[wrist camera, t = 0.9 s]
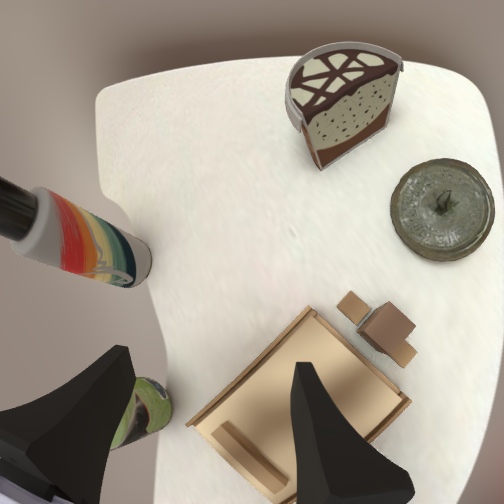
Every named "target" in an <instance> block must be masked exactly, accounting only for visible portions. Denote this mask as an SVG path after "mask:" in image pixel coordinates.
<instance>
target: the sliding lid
mask: <svg viewBox="0 0 504 504" xmlns="http://www.w3.org/2000/svg"><path fill="white" fill-rule="evenodd" d="M296 362H311V363H312V364H313V366H314V368H315V370H316V372H317V374H318V376H319V378H320V380H321V382H322V384H323V385H324V387H325V389H326V390H327V392H328V394H329V395H330V397H331V398H332V400H333V402H334V403H335V404H336V406H337V407H338V409H339V410H340V411H341V413H342V414H343V416H344V417H345V418H346V419H347V421H348V422H349V423H350V424H351V425H352V426H353V428H354V429H355V430H356V431H357V432H358V433H359V434H360V435H361V436H362V437H363V438H364V437H365V436H366V435H367V434H368V433H369V432H371V431H372V430H373V429H374V428H375V427H376V426H377V425H378V424H379V423H380V422H381V421H382V420H383V419H384V418H385V417H386V416H387V415H388V414H389V413H390V412H391V411H392V410H393V409H394V408H395V407H396V406H397V405H398V404H399V403H400V402H401V401H402V399H401V398H400V397H399V396H398V395H397V394H396V393H395V392H394V391H393V390H391V389H390V388H389V387H388V386H387V385H386V384H385V383H384V382H383V381H382V380H381V379H380V378H378V377H377V376H376V375H375V374H374V373H373V372H372V371H371V370H370V369H369V368H368V367H367V366H365V365H364V364H363V363H362V362H361V361H360V360H359V359H358V358H357V357H356V356H355V355H354V354H353V353H351V352H350V351H349V350H348V349H347V348H346V347H345V346H344V345H343V344H342V343H341V342H340V341H339V340H337V339H336V338H335V337H334V336H333V335H332V334H331V333H330V332H329V331H328V330H327V329H326V328H325V327H324V326H322V325H321V324H320V323H319V322H318V321H317V320H316V319H315V318H314V317H313V316H311V317H310V318H309V319H308V320H307V321H306V322H305V323H304V324H303V325H302V326H301V327H300V328H299V329H298V330H297V331H296V332H295V334H294V335H293V336H292V337H291V338H290V339H289V340H288V341H287V342H286V343H285V344H284V345H283V346H282V347H281V348H280V349H279V350H278V351H277V352H276V353H275V354H274V355H273V356H272V357H271V358H270V359H269V360H268V361H267V362H266V363H265V364H264V365H263V366H262V367H261V368H260V369H258V370H257V371H256V372H255V373H254V374H253V375H252V376H251V377H250V378H249V379H248V380H247V381H246V382H245V383H244V384H243V385H242V386H241V387H240V388H238V389H237V390H236V391H235V392H234V393H233V394H232V395H231V396H230V397H229V398H228V399H226V400H225V401H224V402H223V403H222V404H221V405H220V406H219V407H218V408H216V409H215V410H214V411H213V412H212V413H211V414H210V415H209V416H207V417H206V418H205V419H204V420H203V421H202V422H201V423H199V424H198V425H197V426H196V427H195V429H196V430H197V431H198V433H199V434H200V435H201V436H202V437H203V438H204V439H205V440H206V441H207V442H208V443H209V444H210V445H211V446H212V447H213V448H214V449H215V450H216V451H217V452H218V453H219V454H220V455H221V456H222V457H223V458H224V459H225V460H226V461H227V462H228V463H229V464H230V465H231V466H232V467H233V468H234V469H235V470H236V471H237V472H238V473H239V474H240V475H241V476H242V477H244V478H245V479H246V480H247V481H248V482H249V483H250V484H251V485H252V486H254V487H255V488H256V489H257V490H258V491H259V492H260V493H262V494H263V495H264V496H265V497H266V498H267V499H269V500H270V501H271V502H272V503H273V504H278V503H280V502H281V501H283V500H284V499H286V498H287V497H289V496H290V495H292V494H293V493H295V492H296V491H297V464H296V453H295V446H294V438H293V430H292V422H291V414H290V393H291V387H292V382H293V376H294V370H295V365H296Z"/></svg>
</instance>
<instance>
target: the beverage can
mask: <svg viewBox="0 0 504 504" xmlns="http://www.w3.org/2000/svg"><path fill="white" fill-rule="evenodd" d="M171 410H172V407H171V401H170V398H169V396H168V394H167V392H166V391H165V389H164V388H163V387H162V386H161V385H160V384H159V383H157V382H156V381H154V380H152V379H150V378H145V377H136V382H135V386H134V390H133V393H132V396H131V399H130V401H129V404H128V406H127V408H126V411H125V413H124V415H123V417H122V420H121V422H120V424H119V426H118V429H117V431H116V433H115V436H114V438H113V441H112V444H111V447H110V451H112V450H115V449H117V448H120V447H122V446H125V445H127V444H130V443H132V442H134V441H137V440H139V439H141V438H144V437H146V436H148V435H151V434H153V433H155V432H157V431H159V430H161V429H163V428H164V427H165V426H166V425H167V423H168V422H169V419H170V417H171Z"/></svg>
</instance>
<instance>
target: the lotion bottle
mask: <svg viewBox="0 0 504 504" xmlns="http://www.w3.org/2000/svg"><path fill="white" fill-rule="evenodd" d="M0 235H1V236H3V237H6V238H8V239H10V242H11V246H12V248H13V250H14V251H15V253H17V254H18V255H21V256H23V257H25V258H28V259H31V260H34V261H37V262H40V263H43V264H46V265H49V266H52V267H55V268H59V269H62V270H65V271H68V272H71V273H74V274H78V275H81V276H84V277H88V278H91V279H94V280H98V281H102V282H105V283H108V284H112V285H116V286H119V287H124V288H132V287H135V286H137V285H139V284H140V283H141V282H142V281H143V280H144V279H145V278H146V276H147V275H148V272H149V270H150V266H151V254H150V251H149V249H148V247H147V246H146V244H145V243H144V242H142V241H141V240H139V239H138V238H136V237H134V236H132V235H130V234H128V233H126V232H124V231H123V230H121V229H119V228H117V227H115V226H114V225H112V224H110V223H108V222H106V221H104V220H102V219H101V218H99V217H97V216H95V215H93V214H92V213H90V212H88V211H86V210H84V209H83V208H81V207H79V206H77V205H75V204H74V203H72V202H70V201H68V200H67V199H65V198H63V197H61V196H59V195H58V194H56V193H54V192H52V191H50V190H49V189H47V188H44V187H35V188H33V189H31V190H30V191H29V192H28V191H27V190H25V189H23V188H21V187H19V186H17V185H15V184H13V183H12V182H10V181H8V180H6V179H4V178H2V177H1V176H0Z"/></svg>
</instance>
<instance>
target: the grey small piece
mask: <svg viewBox="0 0 504 504" xmlns="http://www.w3.org/2000/svg"><path fill="white" fill-rule="evenodd" d="M390 207H391V217H392V222H393V224H394V225H395V229H396V231H397V233H398V234H399V236H400V237H401V238H402V240H403V241H404V242H405V243H406V244H407V245H408V246H409V247H410V248H411V249H412V250H414V251H415V252H417V253H418V254H420V255H422V256H424V257H426V258H429V259H432V260H435V261H455V260H458V259H461V258H464V257H466V256H468V255H469V254H471V253H472V252H474V251H475V250H476V249H477V248H478V247H479V246H481V244H482V243H483V242H484V240H485V239H486V237H487V236H488V234H489V232H490V230H491V227H492V225H493V223H494V217H495V206H494V198H493V196H492V192H491V189H490V188H489V186H488V184H487V183H486V181H485V180H484V178H483V177H482V176H481V175H480V174H479V172H478V171H477V170H476V169H475V168H473V167H472V166H471V165H469V164H467V163H465V162H462V161H459V160H455V159H449V158H441V159H434V160H429V161H427V162H423V163H421V164H419V165H416V166H414V167H412V168H411V169H410V170H409V171H408V172H407V173H406V174H405V175H404V176H403V177H402V178H401V180H400V182H399V184H398V185H397V186H396V188H395V190H394V192H393V194H392V198H391V206H390Z"/></svg>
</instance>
